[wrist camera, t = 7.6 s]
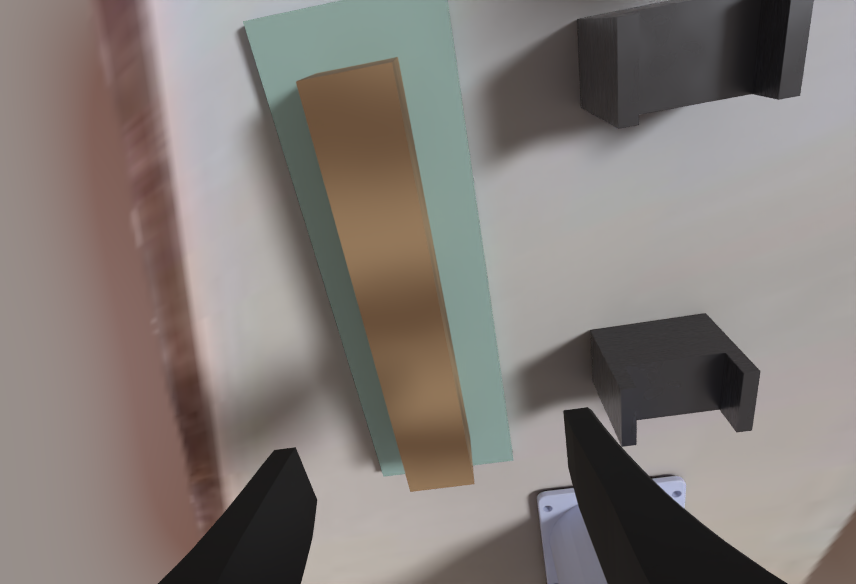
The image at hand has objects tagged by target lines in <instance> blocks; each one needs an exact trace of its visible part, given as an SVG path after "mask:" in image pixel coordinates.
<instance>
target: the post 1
mask: <svg viewBox="0 0 856 584" xmlns="http://www.w3.org/2000/svg"><path fill="white" fill-rule="evenodd" d="M813 2H814V0H669V1H664V2H659V3H654V4H650V5H645V6H640V7H635V8H630V9H625V10H620V11H615V12H610V13H605V14H600V15H595V16H590V17H585V18H580V19H577V25H578V48H579V72H580V96H581V108H582V109H584V110H586V111H588V112H590V113H591V114H593V115H595V116H597V117H599V118H600V119H602V120H604V121H606V122H608V123H609V124H611V125H613V126H615V127H616V128H618V129H619V128H624V127H630V126H635V125H639V114H645V113H650V112H656V111H661V110H667V109H672V108H678V107H683V106H689V105H694V104H700V103H705V102H711V101H716V100H722V99H727V98H733V97H738V96H743V95H749V94H755V95H759V96H764V97H769V98H773V99H778V100H779V99H784V98H790V97H796V96H800V92H801V85H802V78H803V71H804V64H805V57H806V51H807V44H808V37H809V30H810V23H811V16H812V9H813Z"/></svg>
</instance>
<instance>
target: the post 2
mask: <svg viewBox="0 0 856 584" xmlns="http://www.w3.org/2000/svg"><path fill="white" fill-rule="evenodd" d="M590 332H591V356H592V380H593V383H594V386H595V388H596V390H597V392H598V395H599V397H600V399H601V401H602V404H603V406H604V408H605V410H606V413H607V415H608V417H609V419H610V422H611V424H612V426H613V428H614V430H615V433H616V435H617V437H618V439H619V442H620V444H621V446H622V447H623V446H631V445H636V434H637V420H642V419H649V418H657V417H665V416H673V415H680V414H688V413H696V412H704V411H712V410H719V409H720V411H721V412H722V413H723V415H724V416H725V417H726V419H727V420H728V421H729V423H730V424H731V426H732V427H733V428H734V430H735V431H736V432H743V431H751V430H752V426H753V419H754V412H755V405H756V398H757V392H758V385H759V378H760V370H759V369H758V368H757V367H756V366H755V365H754V364H753V363H752V362H751V361H750V360H749V359H748V358H747V357H746V355H745V354H744V353H743V352H742V351H741V350H740V349H739V348H738V347H737V346H736V345H735V344H734V343H733V342H732V341H731V340H730V339H729V337H728V336H727V335H726V334H725V333H724V332H723V331H722V330H721V329H720V328H719V327H718V326H717V325H716V324H715V323H714V322H713V321H712V319H711V318H710V317H709V316H708V315H707V314H706V313H705V314H698V315H692V316H685V317H678V318H671V319H664V320H657V321H650V322H644V323H637V324H630V325H623V326H616V327H609V328H602V329H596V330H590Z"/></svg>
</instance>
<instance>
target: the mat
mask: <svg viewBox="0 0 856 584" xmlns="http://www.w3.org/2000/svg"><path fill="white" fill-rule="evenodd" d="M243 23H244V26H245V29H246V33H247V36H248V39H249V42H250V46H251V49H252V52H253V55H254V59H255V62H256V65H257V68H258V72H259V75H260V78H261V81H262V85H263V88H264V91H265V94H266V97H267V101H268V104H269V107H270V110H271V114H272V117H273V120H274V123H275V127H276V130H277V133H278V136H279V140H280V143H281V146H282V149H283V153H284V156H285V159H286V162H287V165H288V169H289V172H290V175H291V178H292V182H293V185H294V188H295V191H296V195H297V198H298V201H299V204H300V208H301V211H302V214H303V217H304V221H305V224H306V227H307V230H308V234H309V237H310V240H311V243H312V246H313V250H314V253H315V256H316V259H317V263H318V266H319V269H320V272H321V276H322V279H323V282H324V285H325V289H326V292H327V295H328V298H329V302H330V305H331V308H332V311H333V314H334V318H335V321H336V324H337V327H338V331H339V334H340V337H341V340H342V344H343V347H344V350H345V353H346V357H347V360H348V363H349V366H350V370H351V373H352V376H353V379H354V382H355V386H356V389H357V392H358V395H359V399H360V402H361V405H362V408H363V412H364V415H365V418H366V421H367V425H368V428H369V431H370V434H371V438H372V441H373V444H374V447H375V450H376V454H377V457H378V460H379V463H380V467H381V470H382V473H383V476H392V475H400V474H405V471H404V467H403V463H402V460H401V456H400V453H399V449H398V446H397V442H396V438H395V435H394V431H393V428H392V424H391V421H390V417H389V413H388V410H387V406H386V403H385V399H384V396H383V392H382V388H381V385H380V381H379V378H378V374H377V371H376V367H375V363H374V360H373V356H372V353H371V349H370V345H369V342H368V338H367V335H366V331H365V328H364V324H363V320H362V317H361V313H360V310H359V306H358V303H357V299H356V295H355V292H354V288H353V285H352V281H351V278H350V274H349V270H348V267H347V263H346V260H345V256H344V253H343V249H342V245H341V242H340V238H339V235H338V231H337V227H336V224H335V220H334V217H333V213H332V210H331V206H330V202H329V199H328V195H327V192H326V188H325V185H324V181H323V177H322V174H321V170H320V167H319V163H318V160H317V156H316V152H315V149H314V145H313V142H312V138H311V134H310V131H309V127H308V124H307V120H306V117H305V113H304V109H303V106H302V102H301V99H300V95H299V92H298V88H297V84H296V81H298V80H301V79H303V78H306V77H308V76H311V75H313V74H316V73H320V72H325V71H330V70H335V69H340V68H345V67H350V66H355V65H360V64H365V63H370V62H375V61H380V60H385V59H390V58H395V57H398V60H399V65H400V70H401V76H402V81H403V86H404V91H405V97H406V102H407V107H408V112H409V118H410V123H411V128H412V133H413V139H414V144H415V149H416V154H417V160H418V165H419V170H420V175H421V181H422V186H423V191H424V197H425V202H426V207H427V212H428V218H429V223H430V228H431V233H432V239H433V244H434V249H435V254H436V260H437V265H438V270H439V275H440V281H441V286H442V291H443V296H444V302H445V307H446V312H447V318H448V323H449V328H450V333H451V339H452V344H453V349H454V354H455V360H456V365H457V370H458V375H459V381H460V386H461V391H462V396H463V402H464V407H465V412H466V417H467V423H468V428H469V433H470V440H471V451H472V462H473V465H480V464H488V463H496V462H505V461H513V454H512V447H511V440H510V433H509V426H508V419H507V412H506V405H505V398H504V391H503V384H502V377H501V370H500V363H499V356H498V349H497V342H496V335H495V328H494V321H493V314H492V307H491V300H490V293H489V286H488V279H487V272H486V265H485V258H484V252H483V245H482V238H481V231H480V224H479V217H478V210H477V203H476V196H475V189H474V182H473V175H472V168H471V161H470V154H469V147H468V140H467V133H466V126H465V119H464V112H463V105H462V98H461V91H460V84H459V77H458V70H457V63H456V56H455V49H454V42H453V35H452V28H451V21H450V14H449V7H448V0H342V1H337V2H332V3H327V4H323V5H318V6H313V7H309V8H304V9H299V10H295V11H290V12H285V13H281V14H276V15H271V16H267V17H262V18H257V19H253V20H248V21H243Z"/></svg>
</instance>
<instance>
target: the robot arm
mask: <svg viewBox="0 0 856 584" xmlns="http://www.w3.org/2000/svg"><path fill="white" fill-rule="evenodd" d="M563 412H564V423H565V435H566V446H567V457H568V468H569V472H570V476H571V480H572V484H573V488H568V489H560V490H552V491H544V492H541V493H540V494H539V495H538V496H537V504H538V512H539V520H540V529H541V537H542V545H543V554H544V562H545V570H546V579H547V584H787V583H786V582H784V581H783V580H781V579H779V578H778V577H776V576H775V575H773V574H772V573H770V572H768V571H767V570H766V569H764V568H763V567H761V566H760V565H758V564H757V563H756V562H754V561H753V560H751V559H750V558H748V557H747V556H745V555H744V554H743V553H741V552H740V551H738V550H737V549H735V548H734V547H733V546H731V545H730V544H728V543H727V542H725V541H724V540H723V539H722V538H720V537H719V536H718V535H716V534H715V533H714V532H712V531H711V530H710V529H709V528H707V527H706V526H705V525H703V524H702V523H701V522H700V521H699V520H697V519H696V518H695V517H694V516H693V515H691V514H690V513H689V512H688V511H686V510H685V495H686V483H685V481H684V480H683V478H682V477H679V476H670V477H662V478H653V479H651V478H650V477H649V476H648V475H647V474H646V473H645V472H644V471H643V470H642V468H641V467H640V466H639V465H638V464H637V463H636V462H635V461H634V460H633V459H632V458H631V457H630V456H629V455H628V454H627V453H626V452H625V450H624V449H623V448H622V447H621V446H620V445H619V444H618V443H617V441H616V440H615V439H614V438H613V437H612V436H611V434H610V433H609V432H608V431H607V430H606V428H605V427H604V426H603V425H602V423H601V422H600V421H599V419H598V418H597V417H596V415H595V414H594V413H593V411H592V410H591V409H589V408H588V407H586V408H579V409H572V410H564V411H563ZM316 506H317V498H316V496H315V493H314V491H313V488H312V486H311V484H310V481H309V479H308V476H307V474H306V472H305V469H304V467H303V464H302V462H301V459H300V457H299V455H298V452H297V450H296V447H295V448H287V449H280V450H274V451H273V452H272V454H271V455H270V456H269V457H268V458H267V460H266V461H265V462H264V463H263V465H262V466H261V467H260V468H259V470H258V471H257V472H256V474H255V475H254V476H253V477H252V479H251V480H250V481H249V482H248V484H247V485H246V486H245V488H244V489H243V490H242V491H241V493H240V494H239V495H238V496H237V497H236V499H235V500H234V501H233V502H232V504H231V505H230V506H229V507H228V509H227V510H226V511H225V512H224V513H223V515H222V516H221V517H220V518H219V519H218V520H217V522H216V523H215V524H214V525H213V526H212V527H211V528H210V529H209V531H208V532H207V533H206V534H205V535H204V536H203V537H202V539H201V540H200V541H199V542H198V543H197V544H196V546H195V547H194V548H193V549H192V550H191V551H190V552H189V553H188V554H187V555H186V556H185V557H184V558H183V559H182V560H181V561H180V562H179V563H178V564H177V566H175V567H174V568H173V569H172V571H170V572H169V573H168V574H167V575H166V576H165V577H164V578H163V579H162V580H161V581H160V582H159V583H158V584H301V581H302V577H303V573H304V569H305V565H306V561H307V558H308V554H309V550H310V545H311V541H312V537H313V530H314V523H315V514H316Z"/></svg>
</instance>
